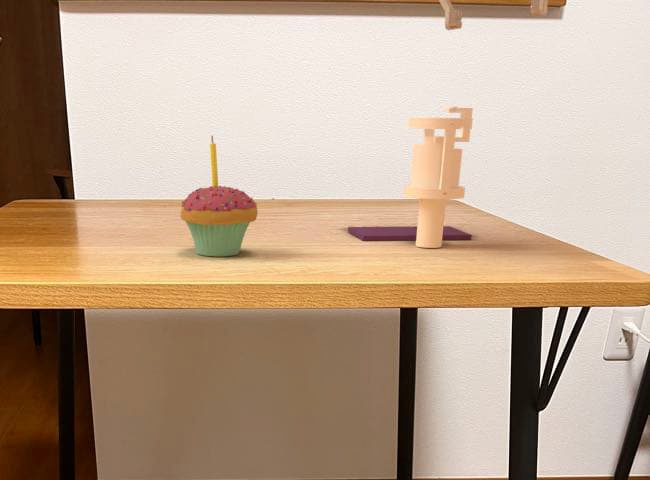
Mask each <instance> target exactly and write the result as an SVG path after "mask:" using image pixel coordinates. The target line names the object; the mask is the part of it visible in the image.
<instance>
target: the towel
mask: <svg viewBox="0 0 650 480" xmlns="http://www.w3.org/2000/svg"><path fill="white" fill-rule="evenodd" d="M347 233H349V234H351V235H353V236H355V237H356V238H358V239H360V240H361V241H363V242H368V241H369V242H370V241H372V242H374V241H376V242H379V241H386V242H388V241H393V242H394V241H416V237H417V226H348V227H347ZM471 240H472V234H470V233H468V232H466V231H463V230H460V229H458V228H455V227H452V226H451V225H449V226H448V225H447V226H446V225H444V226H443V235H442V241H471Z"/></svg>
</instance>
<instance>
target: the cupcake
mask: <svg viewBox="0 0 650 480" xmlns="http://www.w3.org/2000/svg"><path fill="white" fill-rule="evenodd" d="M210 140H211V143H209V153H210V168H211V186H209V187H208V186H207V187H199V188H197V189H195V190H194V191H192V192H191V193H189V194H188V195H187V197H186V198H185V199H184V200H182V202H181V205H180V207H181V210H180V219H181V220H183V221H184V222H185V223H186V225H187V227H188V229H189V232H190V233H191V238H192V241H193V244H194V246H195V251H196V253H197V254H198V255H199V256H200V255H201V256H205V257H218V258H221V257H234V256H236V255H238V254H240V252H241V247H242V244H243V240H244V237H245V234H246V232H247V229H248V227H249V225H250V223H253V222H255V221H256V220H257V218H258V203H256V202H255V200H253V199H254V198H253V197H250V196H249V195H248V194H247V193H246V192H245V191H244V190H239V188H234V187H230V186H228V187H227V186H226V185H224V186H222V185H219V176H218V175H219V173H218V157H217V155H218V154H217V144H216V143H214V136H213V135H210Z"/></svg>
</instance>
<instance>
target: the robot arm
mask: <svg viewBox="0 0 650 480" xmlns="http://www.w3.org/2000/svg"><path fill="white" fill-rule="evenodd" d="M438 2H439V3H440V5H441V7H442V9H443V11H444V27H445V30H447V31H454V30H459V29H462V27H463V22H462V19H463V11H462V10H460V9H459V8H454V6H453V4H452V2H451V0H438ZM548 3H549V0H530V7H529V14H530V16H531V17H540V16H546V15H547V14H548Z"/></svg>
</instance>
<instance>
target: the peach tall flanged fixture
mask: <svg viewBox="0 0 650 480" xmlns="http://www.w3.org/2000/svg"><path fill="white" fill-rule="evenodd" d="M473 111H474V108H473V107H458V106H449V107H445V111H444V113H446V114H459V115H460V116H459V117H409V118H408V126H407V129H410V130H411V129H415V130H423V137H422V138H423V139H422V144H421V143H413V149H412V159H411V160H412V161H411V162H412V163H411V172H410V183H409V184H407V185H403V187H402V188H403V190H402V197H404V198H409V199H410V198H411V199H416V200H417V201H418V203H419V204H418V205H419V206H418V214H417V225H416V227H417V237H416V240H415V247H418V248H424V249H425V248H427V249H434V248H435V249H436V248H437V249H438V248H442V246H443V245H442V244H443V240H442V235H443V226H445V225H444V223H445V217H446V204H447V203H448V201H449V200H458V199H459V200H460V199H464V198H465V192H466V187H465V186H461V185H459V184H460V177H461V176H460V175H461V167H462V157H463V148H455V144H456V143H457V142H458V143H470V138H471V130H473V129H472V128H473V120H474V119H473ZM435 130H444V135H443V136H442V135H441V136H440V135H439V136H438V135H437V136H436V135H435ZM457 130H458V135H457V136H456V134H457Z"/></svg>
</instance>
